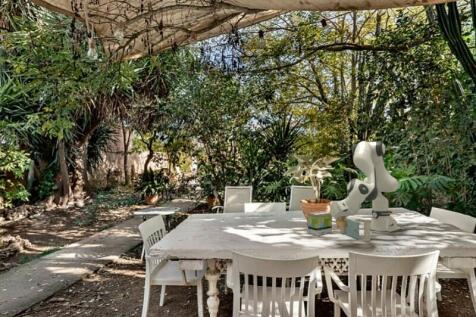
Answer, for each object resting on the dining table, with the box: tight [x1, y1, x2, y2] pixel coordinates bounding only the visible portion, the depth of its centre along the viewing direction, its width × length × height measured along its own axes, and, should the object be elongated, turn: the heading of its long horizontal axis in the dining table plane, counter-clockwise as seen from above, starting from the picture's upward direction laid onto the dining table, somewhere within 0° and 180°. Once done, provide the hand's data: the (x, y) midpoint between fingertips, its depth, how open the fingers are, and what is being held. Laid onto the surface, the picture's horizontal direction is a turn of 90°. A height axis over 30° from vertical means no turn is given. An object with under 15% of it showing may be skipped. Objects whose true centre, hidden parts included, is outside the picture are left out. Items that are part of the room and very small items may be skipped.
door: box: [344, 217, 360, 240], centre depth 250 cm, size 17×3×11 cm, turn 12°
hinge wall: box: [339, 227, 346, 235], centre depth 260 cm, size 3×3×13 cm
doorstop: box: [335, 216, 348, 229], centre depth 235 cm, size 4×5×8 cm
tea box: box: [307, 210, 333, 236], centre depth 263 cm, size 15×10×15 cm, turn 126°
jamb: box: [363, 219, 371, 242], centre depth 240 cm, size 3×3×13 cm
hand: (339, 218), depth 236 cm, fingers closed on doorstop, 5 cm apart
